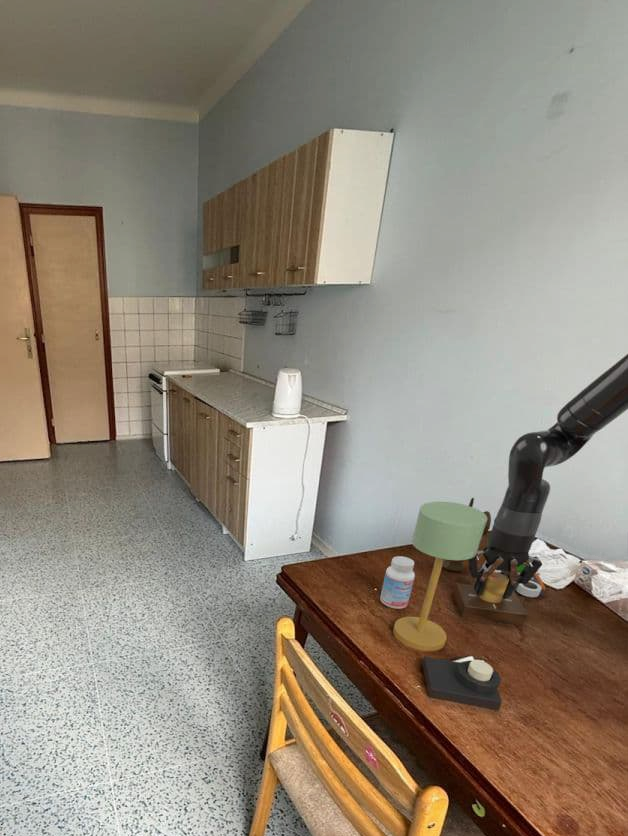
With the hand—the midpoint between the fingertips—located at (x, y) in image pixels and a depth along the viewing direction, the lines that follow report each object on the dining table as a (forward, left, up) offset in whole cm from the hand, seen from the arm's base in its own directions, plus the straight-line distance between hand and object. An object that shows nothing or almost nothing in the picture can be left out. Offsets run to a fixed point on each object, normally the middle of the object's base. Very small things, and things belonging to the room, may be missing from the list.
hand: (491, 594), depth 106 cm
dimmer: (0, 0, -4) cm, 4 cm away
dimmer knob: (0, 0, -1) cm, 1 cm away
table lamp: (+16, +15, -4) cm, 22 cm away
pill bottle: (+20, +3, -4) cm, 21 cm away
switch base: (+11, +29, -4) cm, 31 cm away
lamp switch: (+9, +29, 0) cm, 30 cm away
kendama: (+4, -18, -4) cm, 19 cm away
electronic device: (-11, -15, -4) cm, 19 cm away
